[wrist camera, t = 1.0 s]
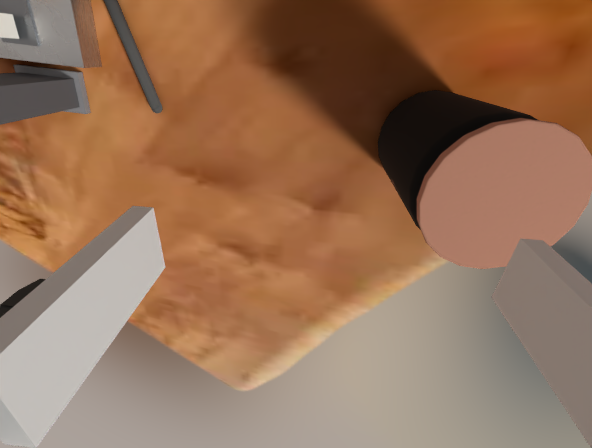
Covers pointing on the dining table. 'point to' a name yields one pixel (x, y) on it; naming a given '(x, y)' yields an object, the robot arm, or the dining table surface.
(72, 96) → the dark grey rectangular block
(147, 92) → the dark grey thin rod
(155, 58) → the dining table surface
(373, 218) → the dining table surface
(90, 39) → the breaker panel
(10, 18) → the matte cream brick
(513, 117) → the coffee jar
